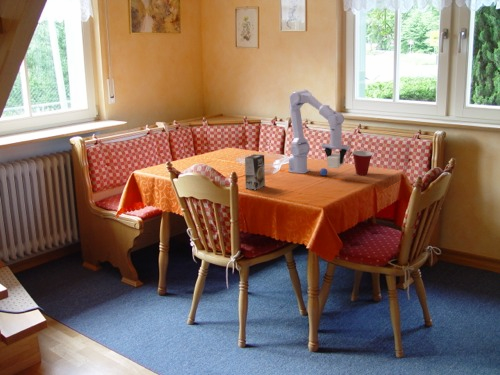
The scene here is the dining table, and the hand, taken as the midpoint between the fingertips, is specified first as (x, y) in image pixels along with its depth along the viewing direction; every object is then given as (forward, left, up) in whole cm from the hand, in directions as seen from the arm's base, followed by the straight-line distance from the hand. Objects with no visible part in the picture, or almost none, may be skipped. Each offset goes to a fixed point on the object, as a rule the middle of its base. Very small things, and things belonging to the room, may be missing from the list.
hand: (335, 162), depth 323 cm
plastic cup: (+10, +13, -9) cm, 18 cm away
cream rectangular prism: (0, 0, -2) cm, 2 cm away
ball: (-8, +3, -6) cm, 10 cm away
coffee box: (-32, -30, -9) cm, 45 cm away
